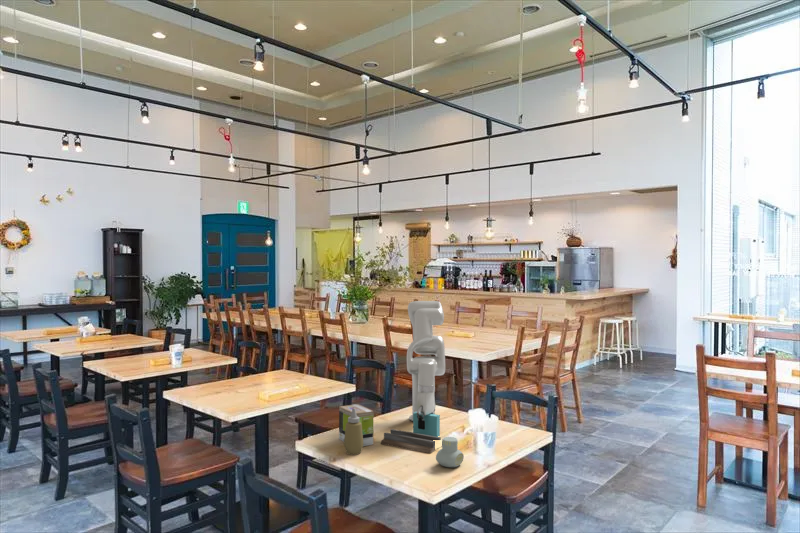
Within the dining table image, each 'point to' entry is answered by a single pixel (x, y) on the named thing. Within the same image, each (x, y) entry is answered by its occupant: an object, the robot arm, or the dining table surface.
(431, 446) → the track
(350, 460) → the dining table surface
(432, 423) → the door panel
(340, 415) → the tea box
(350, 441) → the squeeze bottle
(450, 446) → the grey rounded branched piece
